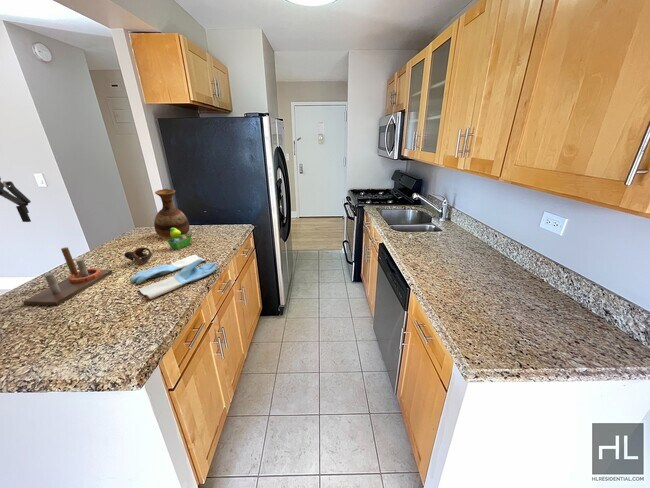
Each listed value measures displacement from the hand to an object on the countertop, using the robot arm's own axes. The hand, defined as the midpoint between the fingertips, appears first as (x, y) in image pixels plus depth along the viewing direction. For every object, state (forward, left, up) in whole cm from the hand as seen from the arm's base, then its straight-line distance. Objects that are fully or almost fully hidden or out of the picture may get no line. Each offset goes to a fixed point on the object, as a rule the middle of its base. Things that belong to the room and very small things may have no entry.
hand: (7, 226), depth 100 cm
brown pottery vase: (+21, +66, -27) cm, 74 cm away
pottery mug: (+27, +26, -27) cm, 46 cm away
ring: (+16, +7, -25) cm, 31 cm away
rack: (+16, 0, -27) cm, 31 cm away
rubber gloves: (+54, +13, -27) cm, 61 cm away
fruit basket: (+36, +47, -27) cm, 65 cm away
